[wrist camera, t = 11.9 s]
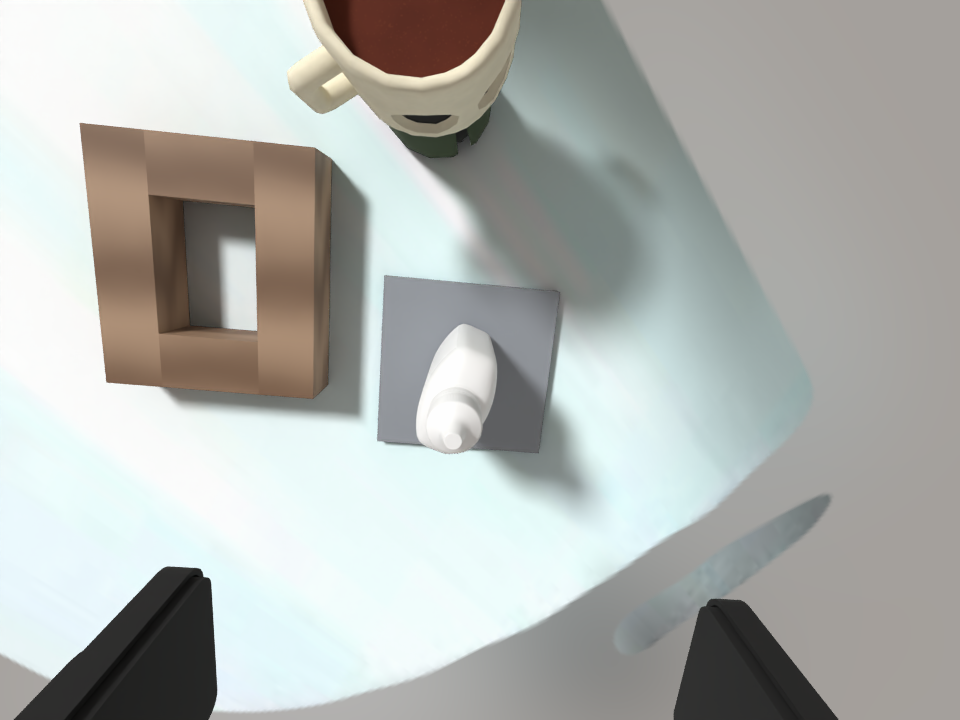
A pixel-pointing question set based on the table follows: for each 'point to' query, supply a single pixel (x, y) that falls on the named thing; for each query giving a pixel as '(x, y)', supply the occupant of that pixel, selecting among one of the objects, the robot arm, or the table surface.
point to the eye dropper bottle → (457, 391)
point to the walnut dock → (163, 271)
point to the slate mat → (516, 342)
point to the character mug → (411, 64)
